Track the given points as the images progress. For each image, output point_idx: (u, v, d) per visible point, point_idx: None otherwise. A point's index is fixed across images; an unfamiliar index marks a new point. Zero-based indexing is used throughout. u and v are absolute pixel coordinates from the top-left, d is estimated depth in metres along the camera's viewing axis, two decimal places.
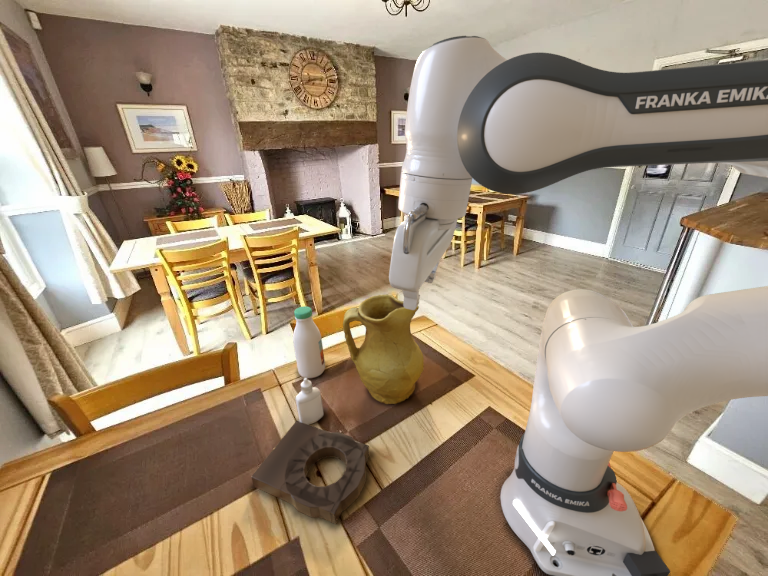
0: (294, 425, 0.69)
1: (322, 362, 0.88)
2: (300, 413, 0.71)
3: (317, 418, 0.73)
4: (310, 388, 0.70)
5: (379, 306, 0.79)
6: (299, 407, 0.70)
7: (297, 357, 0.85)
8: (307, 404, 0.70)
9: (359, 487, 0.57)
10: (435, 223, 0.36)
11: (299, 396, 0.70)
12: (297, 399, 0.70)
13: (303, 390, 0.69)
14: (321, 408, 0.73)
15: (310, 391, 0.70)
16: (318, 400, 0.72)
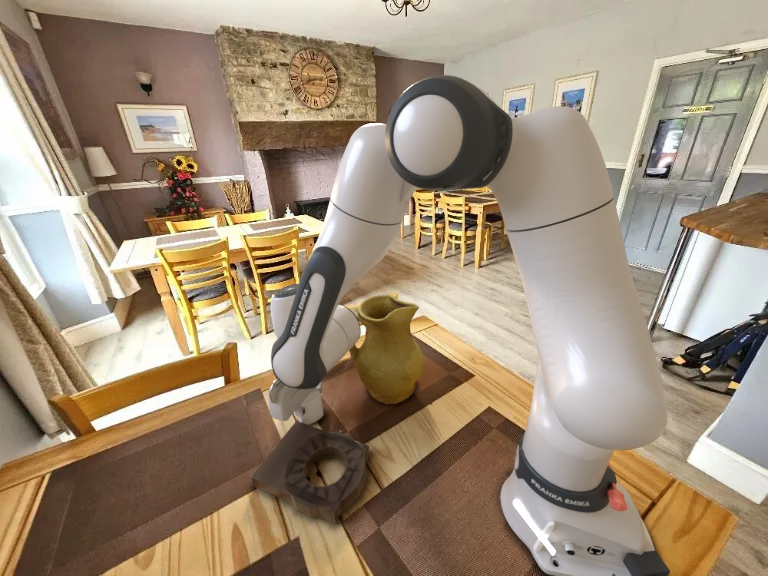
0: (294, 425, 0.69)
1: None
2: None
3: (317, 418, 0.73)
4: None
5: (379, 306, 0.79)
6: None
7: None
8: (307, 404, 0.70)
9: (359, 487, 0.57)
10: None
11: None
12: None
13: None
14: (321, 408, 0.73)
15: None
16: (318, 400, 0.72)
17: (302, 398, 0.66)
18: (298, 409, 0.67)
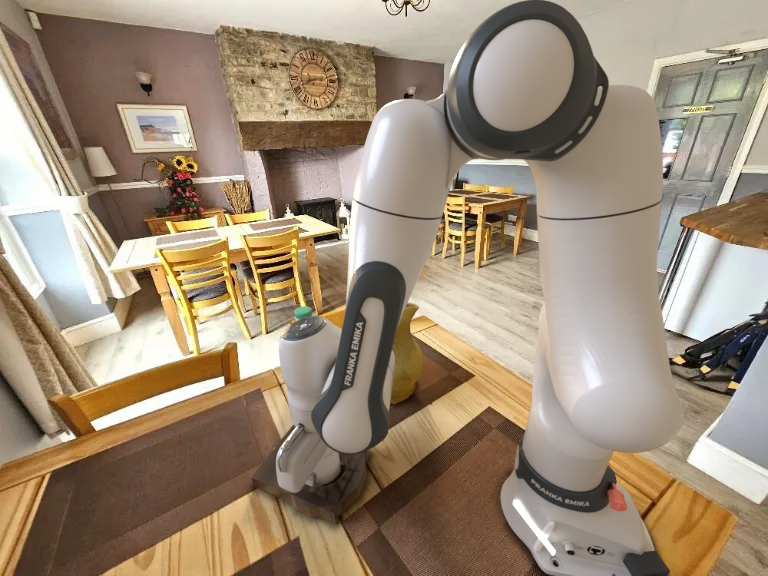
0: None
1: None
2: None
3: (333, 476, 0.60)
4: None
5: None
6: None
7: None
8: (322, 462, 0.57)
9: (359, 487, 0.57)
10: (310, 436, 0.50)
11: None
12: None
13: None
14: (338, 464, 0.60)
15: None
16: (335, 456, 0.59)
17: (317, 458, 0.53)
18: (308, 478, 0.52)
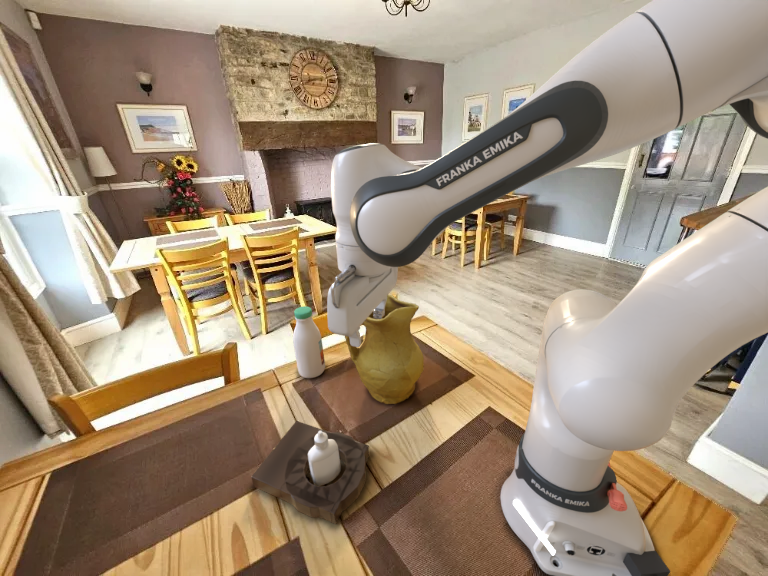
0: (294, 425, 0.69)
1: (322, 362, 0.88)
2: (313, 473, 0.58)
3: (333, 476, 0.60)
4: (326, 443, 0.57)
5: None
6: (312, 466, 0.57)
7: (297, 357, 0.85)
8: (322, 462, 0.57)
9: (359, 487, 0.57)
10: (362, 279, 0.46)
11: (313, 453, 0.57)
12: (310, 457, 0.57)
13: (317, 446, 0.56)
14: (338, 464, 0.60)
15: (326, 446, 0.57)
16: (335, 456, 0.59)
17: (367, 312, 0.49)
18: (357, 332, 0.48)
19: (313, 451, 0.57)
